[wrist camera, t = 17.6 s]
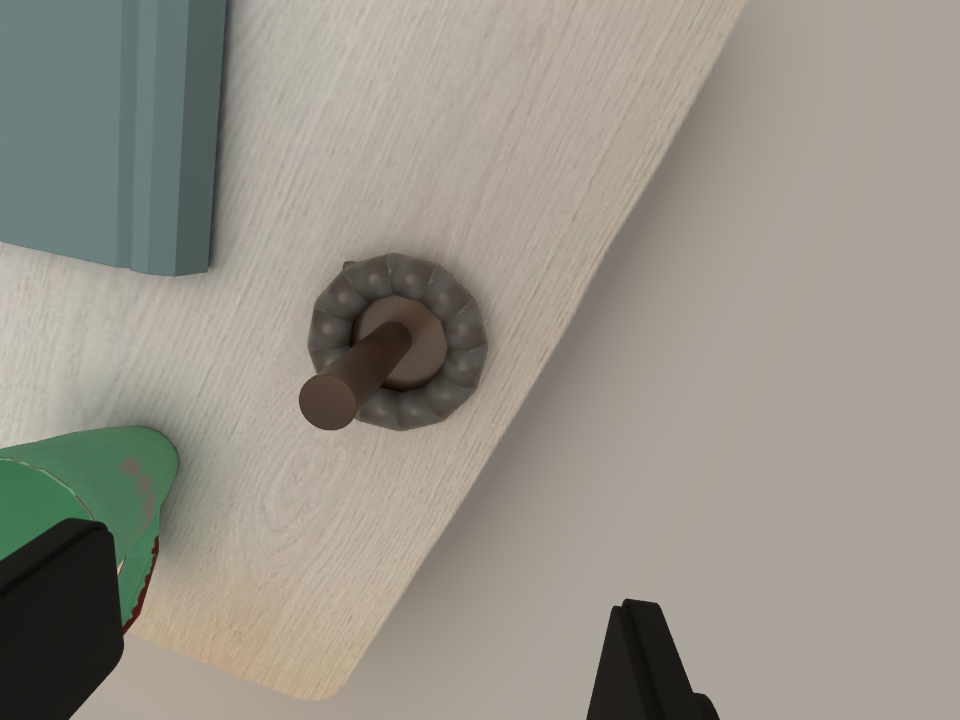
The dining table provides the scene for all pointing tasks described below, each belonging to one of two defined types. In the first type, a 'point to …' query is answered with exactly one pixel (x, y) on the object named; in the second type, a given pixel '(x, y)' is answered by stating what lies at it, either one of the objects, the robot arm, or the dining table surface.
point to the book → (111, 129)
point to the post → (376, 360)
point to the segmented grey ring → (440, 299)
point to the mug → (92, 496)
